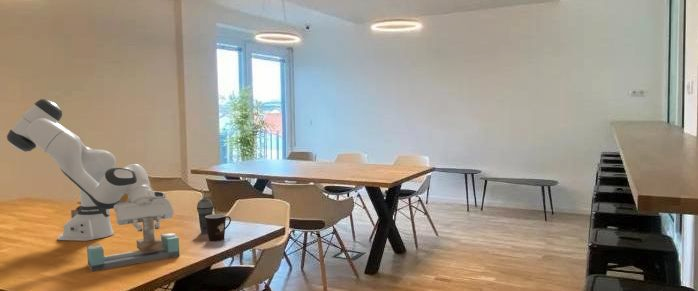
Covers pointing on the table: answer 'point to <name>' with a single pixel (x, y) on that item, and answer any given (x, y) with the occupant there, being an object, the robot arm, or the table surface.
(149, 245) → the carriage
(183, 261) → the table surface
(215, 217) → the coffee mug
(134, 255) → the rail bed
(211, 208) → the beverage cup
